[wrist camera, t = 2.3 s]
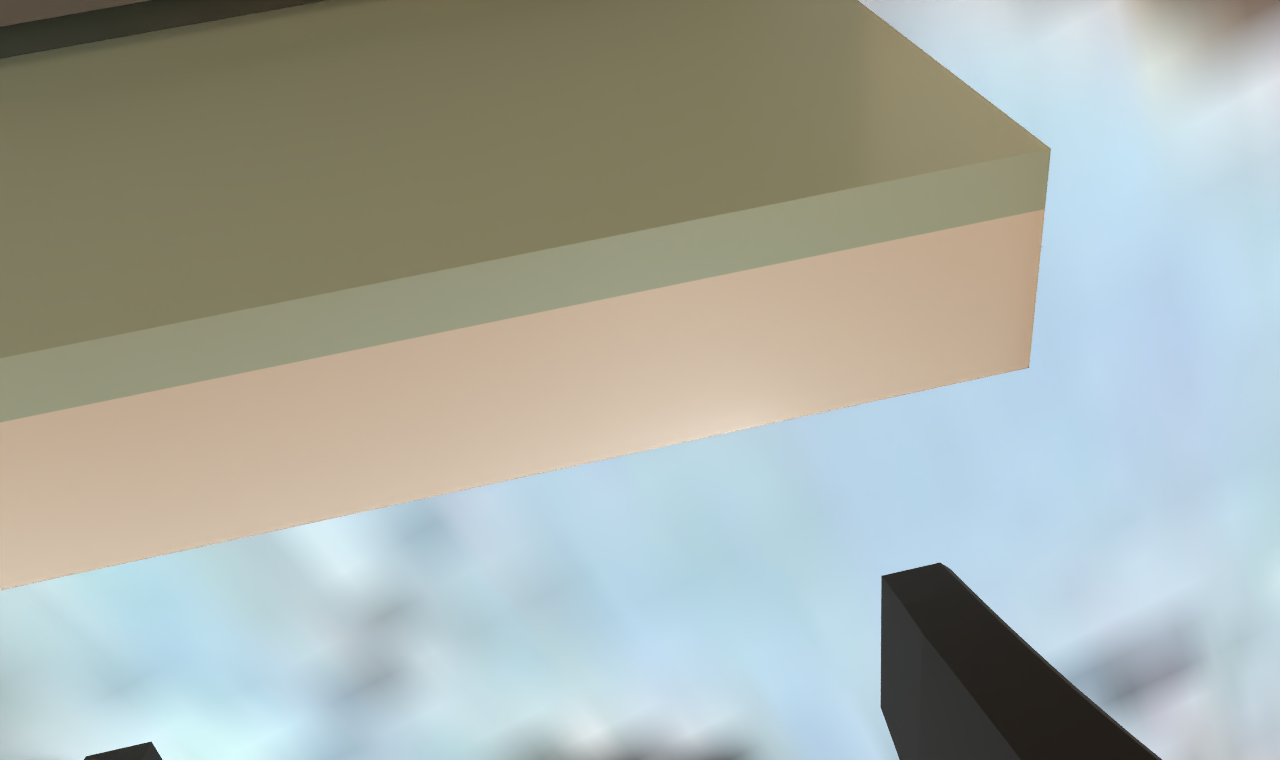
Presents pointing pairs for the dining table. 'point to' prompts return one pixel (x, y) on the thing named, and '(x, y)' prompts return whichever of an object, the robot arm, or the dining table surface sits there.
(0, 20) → the mat
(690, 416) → the tile
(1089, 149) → the dining table surface
